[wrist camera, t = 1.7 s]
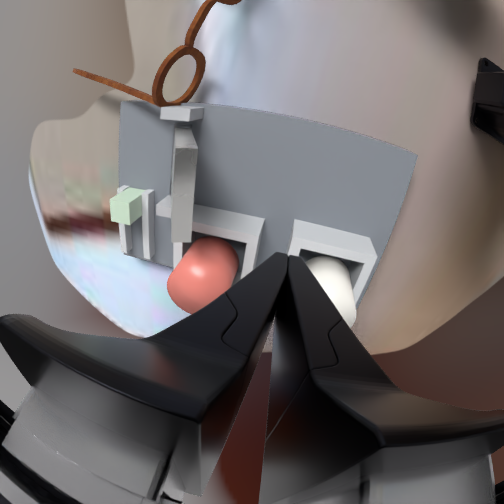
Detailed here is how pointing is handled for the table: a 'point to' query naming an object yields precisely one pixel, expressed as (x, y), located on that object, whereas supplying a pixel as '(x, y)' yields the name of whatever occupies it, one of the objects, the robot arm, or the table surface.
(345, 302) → the button white
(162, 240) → the panel
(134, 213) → the slider knob
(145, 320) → the table surface
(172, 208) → the grey rectangular slab
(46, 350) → the robot arm
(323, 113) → the table surface
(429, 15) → the table surface
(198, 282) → the button red
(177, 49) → the glasses
